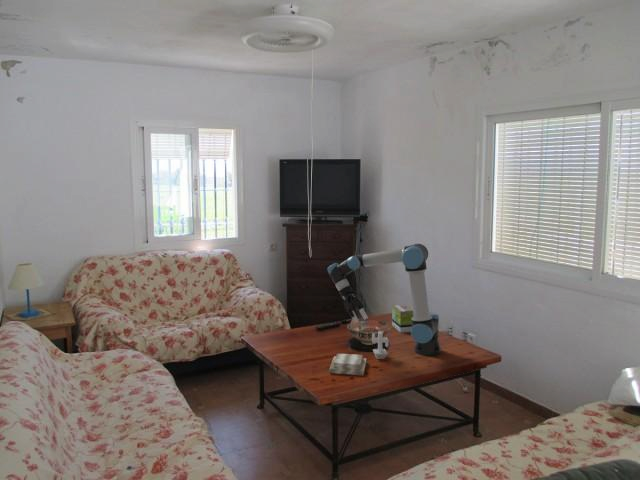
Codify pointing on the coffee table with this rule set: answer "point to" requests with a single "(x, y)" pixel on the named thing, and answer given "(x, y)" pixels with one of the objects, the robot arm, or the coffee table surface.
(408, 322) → the tea box
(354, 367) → the plinth
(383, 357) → the figurine
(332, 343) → the coffee table surface
